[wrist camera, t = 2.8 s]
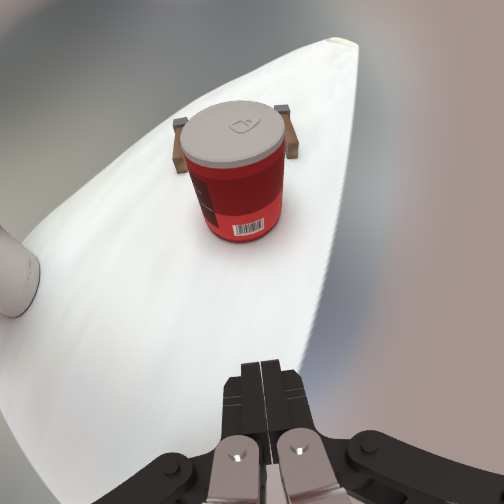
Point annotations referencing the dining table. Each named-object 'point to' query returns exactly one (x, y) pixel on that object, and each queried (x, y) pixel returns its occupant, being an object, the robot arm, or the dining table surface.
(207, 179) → the canned food
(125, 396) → the dining table surface
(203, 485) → the robot arm
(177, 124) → the posts
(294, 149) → the channel walls
